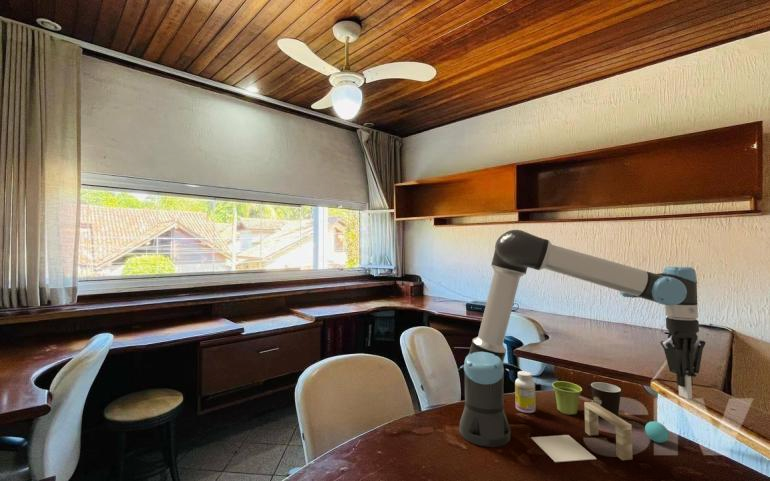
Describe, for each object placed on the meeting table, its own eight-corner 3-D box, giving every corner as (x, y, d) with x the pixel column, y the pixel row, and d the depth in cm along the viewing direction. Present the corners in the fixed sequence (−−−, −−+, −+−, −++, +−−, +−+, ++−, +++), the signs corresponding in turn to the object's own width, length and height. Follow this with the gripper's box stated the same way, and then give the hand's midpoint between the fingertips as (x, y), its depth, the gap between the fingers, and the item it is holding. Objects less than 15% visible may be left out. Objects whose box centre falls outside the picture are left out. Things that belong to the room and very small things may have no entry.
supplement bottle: (517, 403, 126) (516, 368, 127) (536, 407, 123) (535, 371, 123) (513, 411, 121) (513, 374, 121) (534, 415, 117) (533, 377, 118)
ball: (656, 447, 98) (656, 427, 98) (640, 436, 103) (640, 418, 104) (674, 445, 99) (673, 426, 99) (657, 435, 104) (656, 417, 104)
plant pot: (583, 409, 122) (582, 384, 122) (582, 420, 114) (581, 393, 114) (554, 403, 127) (553, 379, 127) (551, 413, 119) (550, 388, 119)
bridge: (622, 460, 92) (621, 425, 92) (585, 432, 106) (584, 402, 107) (632, 459, 92) (631, 424, 92) (594, 431, 107) (593, 401, 107)
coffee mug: (626, 424, 111) (626, 393, 111) (597, 421, 113) (596, 391, 113) (610, 408, 122) (610, 380, 123) (584, 406, 124) (583, 378, 124)
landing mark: (555, 462, 91) (555, 461, 91) (531, 438, 103) (531, 437, 103) (596, 459, 92) (596, 458, 92) (568, 435, 104) (568, 434, 104)
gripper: (674, 321, 99) (677, 403, 98) (714, 319, 100) (718, 401, 99) (651, 316, 106) (654, 393, 105) (688, 314, 108) (692, 390, 107)
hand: (685, 396), depth 102 cm, fingers closed
